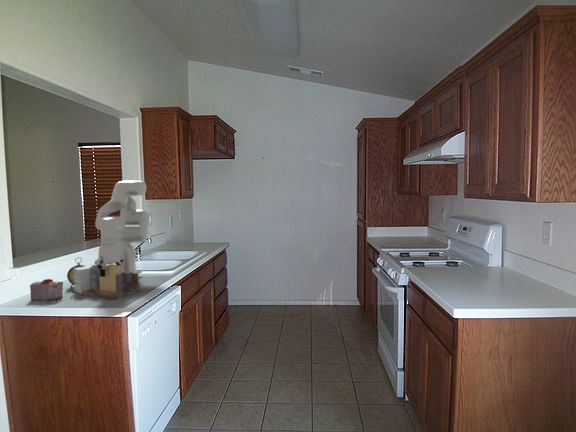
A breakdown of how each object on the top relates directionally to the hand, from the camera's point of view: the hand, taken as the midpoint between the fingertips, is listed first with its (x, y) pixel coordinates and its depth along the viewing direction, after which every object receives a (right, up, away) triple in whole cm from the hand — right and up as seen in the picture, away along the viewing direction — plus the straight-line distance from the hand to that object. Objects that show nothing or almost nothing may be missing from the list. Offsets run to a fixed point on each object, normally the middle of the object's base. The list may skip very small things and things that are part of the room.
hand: (110, 274), depth 189 cm
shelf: (0, -10, 0) cm, 10 cm away
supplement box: (-16, -10, +4) cm, 19 cm away
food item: (-27, -11, -9) cm, 30 cm away
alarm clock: (-24, -9, +14) cm, 30 cm away
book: (0, -8, 0) cm, 8 cm away
